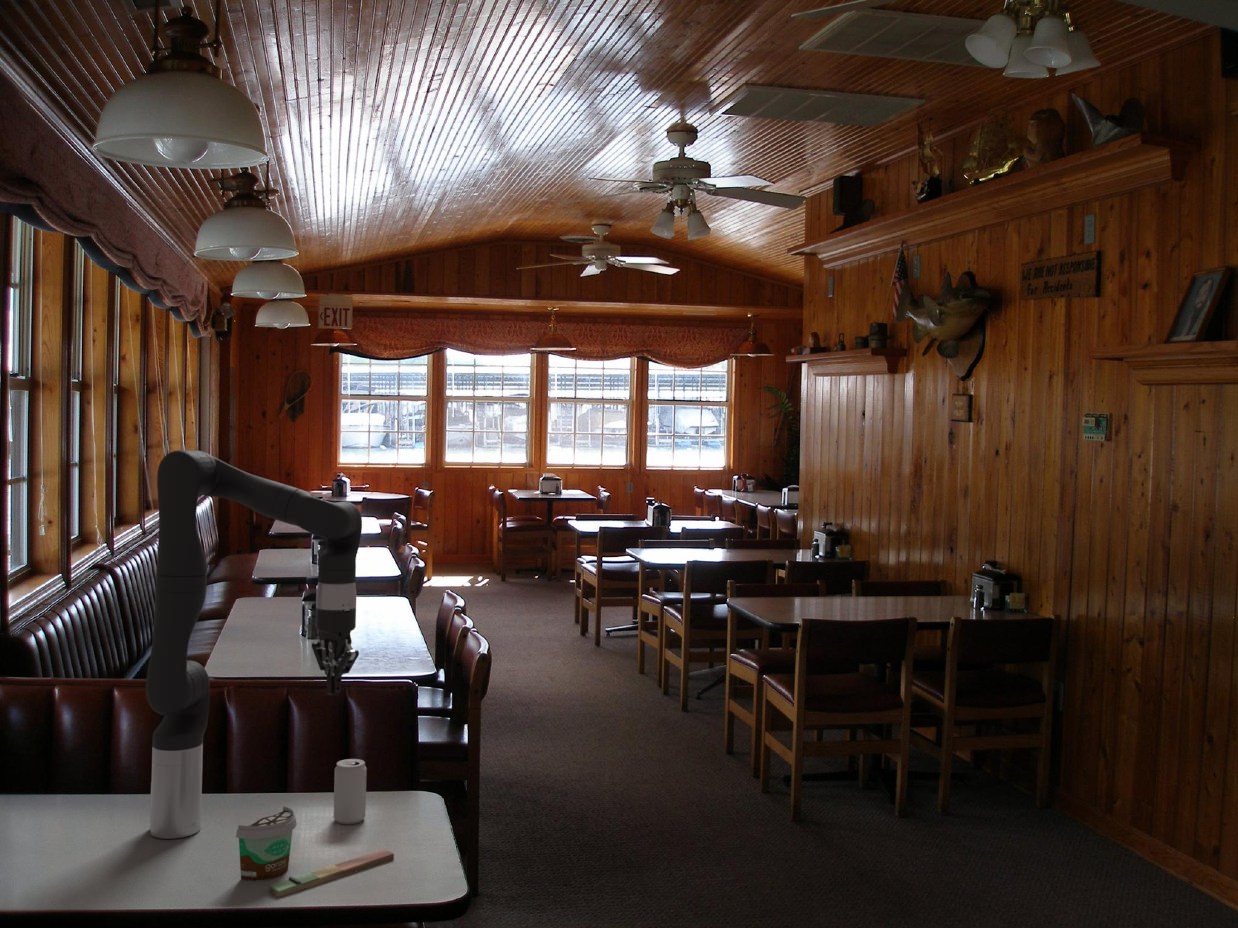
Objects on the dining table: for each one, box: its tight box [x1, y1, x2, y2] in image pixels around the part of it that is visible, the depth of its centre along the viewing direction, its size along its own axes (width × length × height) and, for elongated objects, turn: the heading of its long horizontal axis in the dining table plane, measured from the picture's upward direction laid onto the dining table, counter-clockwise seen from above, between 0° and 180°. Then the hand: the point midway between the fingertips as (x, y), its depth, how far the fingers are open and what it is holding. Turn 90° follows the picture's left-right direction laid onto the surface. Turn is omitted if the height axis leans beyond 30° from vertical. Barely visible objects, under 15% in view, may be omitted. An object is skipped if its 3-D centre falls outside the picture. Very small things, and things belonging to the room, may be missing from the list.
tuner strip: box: [268, 848, 395, 898], centre depth 192 cm, size 3×24×2 cm, turn 139°
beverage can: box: [333, 758, 368, 825], centre depth 220 cm, size 6×6×12 cm
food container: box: [235, 805, 297, 882], centre depth 192 cm, size 12×6×10 cm, turn 155°
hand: (333, 694), depth 207 cm, fingers closed
